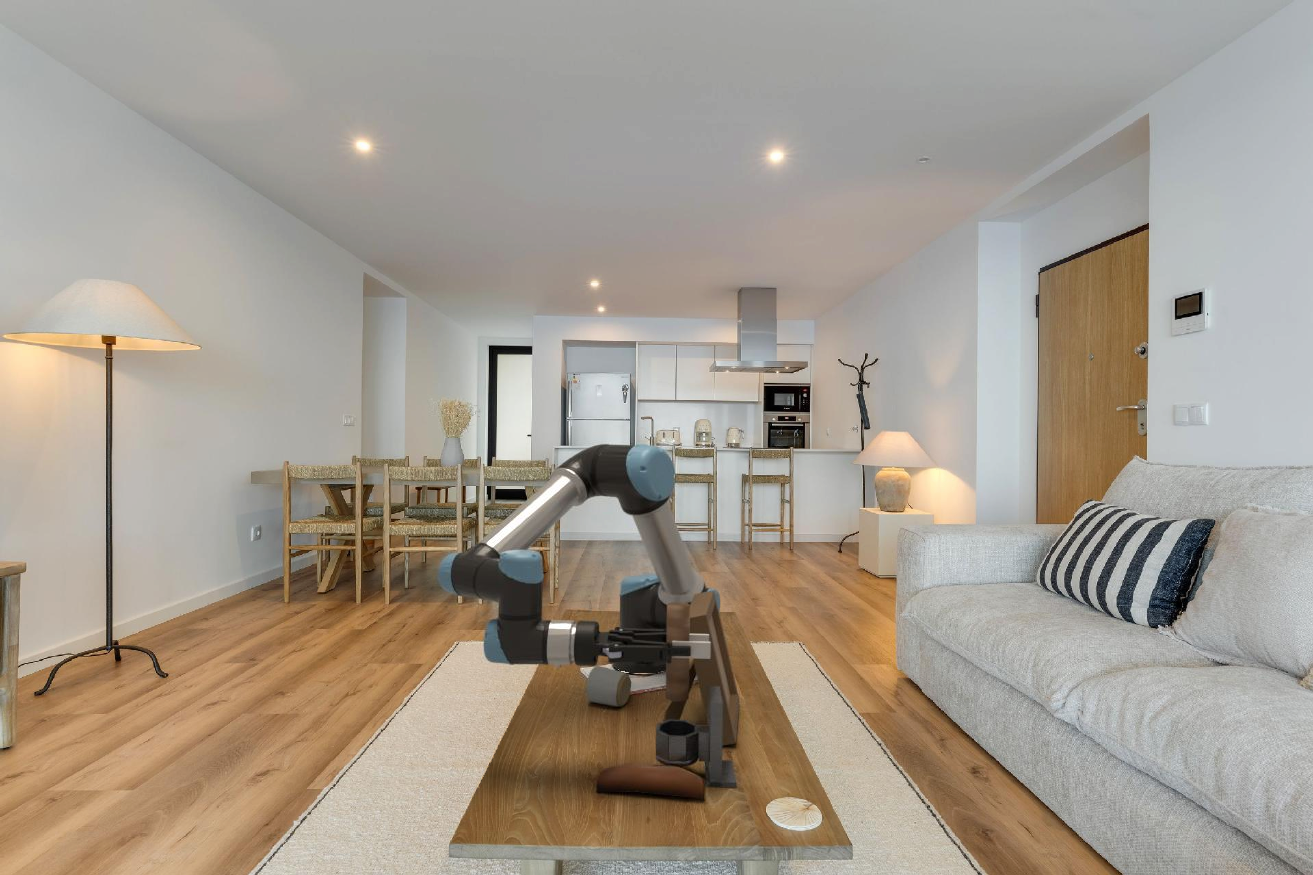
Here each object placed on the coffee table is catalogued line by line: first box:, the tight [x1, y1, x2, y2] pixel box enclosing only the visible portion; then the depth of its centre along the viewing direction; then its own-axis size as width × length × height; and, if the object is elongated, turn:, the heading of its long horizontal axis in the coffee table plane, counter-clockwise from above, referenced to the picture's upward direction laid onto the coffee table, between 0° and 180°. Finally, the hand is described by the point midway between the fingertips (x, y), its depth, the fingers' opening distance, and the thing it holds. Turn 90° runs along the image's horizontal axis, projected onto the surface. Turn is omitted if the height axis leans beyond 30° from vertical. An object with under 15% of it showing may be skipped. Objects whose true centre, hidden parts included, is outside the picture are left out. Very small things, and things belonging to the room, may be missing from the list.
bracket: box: [655, 686, 738, 788], centre depth 119 cm, size 14×8×14 cm, turn 89°
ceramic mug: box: [585, 665, 632, 707], centre depth 152 cm, size 11×8×8 cm
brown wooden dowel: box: [665, 602, 690, 702], centre depth 119 cm, size 4×4×16 cm
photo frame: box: [662, 590, 741, 746], centre depth 141 cm, size 15×22×25 cm
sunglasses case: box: [595, 762, 706, 802], centre depth 115 cm, size 18×7×7 cm
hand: (709, 646), depth 119 cm, fingers closed on brown wooden dowel, 4 cm apart
